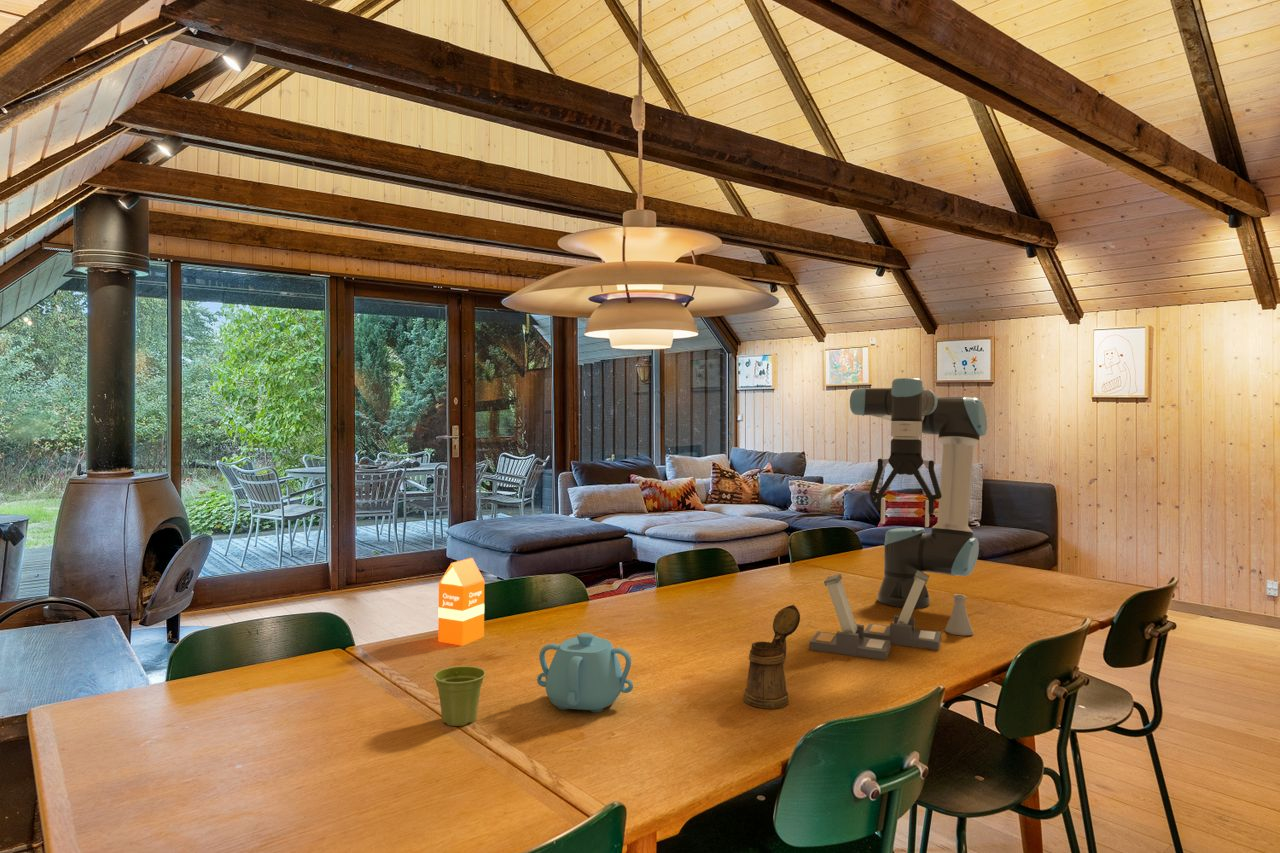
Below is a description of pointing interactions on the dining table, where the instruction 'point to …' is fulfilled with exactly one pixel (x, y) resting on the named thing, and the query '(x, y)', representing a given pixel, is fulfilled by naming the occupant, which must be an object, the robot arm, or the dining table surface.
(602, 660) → the decorative pot
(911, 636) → the housing far
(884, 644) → the housing near
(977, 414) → the robot arm
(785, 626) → the wooden mug
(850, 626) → the lever near
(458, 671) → the plant pot
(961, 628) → the flask
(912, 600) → the lever far
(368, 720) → the dining table surface
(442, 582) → the orange juice
